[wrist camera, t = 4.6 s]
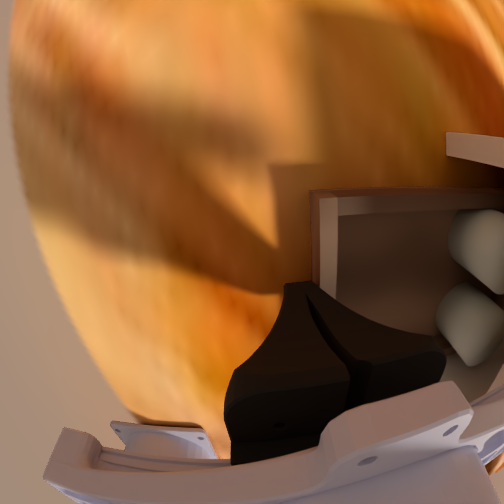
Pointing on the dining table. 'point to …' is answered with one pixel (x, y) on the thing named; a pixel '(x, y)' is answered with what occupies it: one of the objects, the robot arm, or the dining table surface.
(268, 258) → the dining table surface
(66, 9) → the dining table surface
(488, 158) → the grey rectangular block
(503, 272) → the grey rounded lump
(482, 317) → the white rounded cylinder
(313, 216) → the tray
